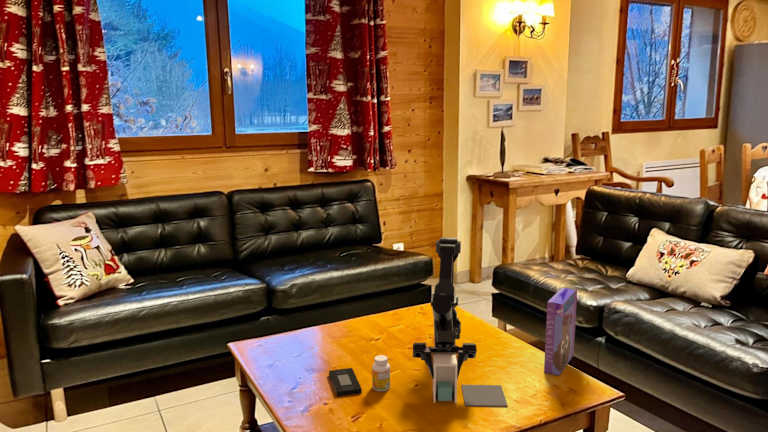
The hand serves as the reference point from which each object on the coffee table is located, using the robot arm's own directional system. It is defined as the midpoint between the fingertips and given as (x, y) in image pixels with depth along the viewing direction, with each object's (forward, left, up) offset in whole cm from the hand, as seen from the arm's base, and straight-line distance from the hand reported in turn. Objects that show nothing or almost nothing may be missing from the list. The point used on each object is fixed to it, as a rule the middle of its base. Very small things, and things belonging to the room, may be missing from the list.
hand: (445, 378), depth 171 cm
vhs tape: (+13, -29, -7) cm, 32 cm away
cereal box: (-44, +14, -7) cm, 47 cm away
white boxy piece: (-1, -1, -7) cm, 7 cm away
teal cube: (-1, -1, -7) cm, 7 cm away
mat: (-9, +7, -7) cm, 14 cm away
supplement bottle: (+7, -19, -7) cm, 21 cm away
